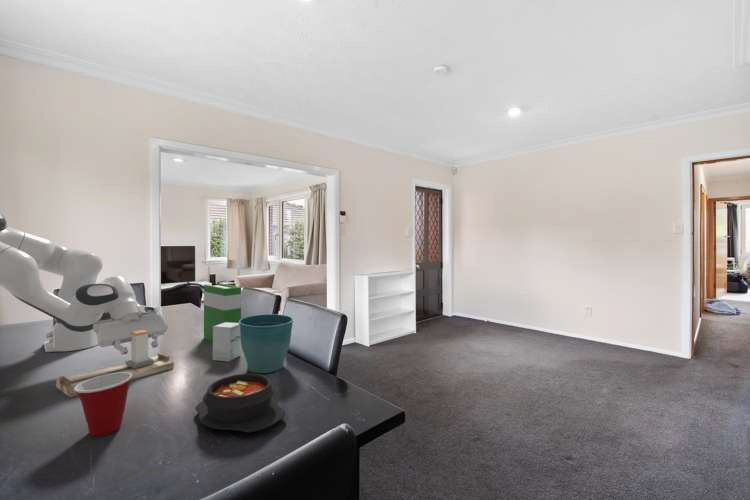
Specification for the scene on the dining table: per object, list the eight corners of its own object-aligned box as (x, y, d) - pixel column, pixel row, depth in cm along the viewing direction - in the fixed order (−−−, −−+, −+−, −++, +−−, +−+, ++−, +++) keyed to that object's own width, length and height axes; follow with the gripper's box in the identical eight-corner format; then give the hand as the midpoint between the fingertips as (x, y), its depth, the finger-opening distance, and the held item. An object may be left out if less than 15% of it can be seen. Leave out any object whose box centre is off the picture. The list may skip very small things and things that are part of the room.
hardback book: (203, 338, 157) (203, 284, 157) (219, 334, 163) (219, 283, 162) (224, 346, 146) (224, 288, 146) (240, 342, 152) (241, 287, 152)
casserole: (302, 415, 91) (302, 383, 90) (240, 452, 75) (240, 413, 75) (239, 391, 104) (239, 363, 104) (175, 418, 88) (175, 385, 88)
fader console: (56, 386, 105) (55, 374, 105) (156, 360, 128) (156, 351, 128) (70, 397, 98) (69, 384, 98) (173, 368, 121) (173, 357, 121)
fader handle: (125, 364, 117) (125, 331, 117) (145, 359, 122) (145, 328, 122) (133, 368, 114) (133, 334, 113) (153, 363, 119) (153, 331, 118)
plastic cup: (96, 418, 87) (96, 370, 87) (142, 417, 88) (142, 370, 88) (61, 444, 76) (60, 389, 76) (114, 442, 77) (113, 388, 77)
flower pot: (302, 362, 129) (303, 316, 128) (272, 381, 112) (273, 328, 111) (260, 356, 135) (261, 312, 134) (226, 373, 118) (227, 322, 117)
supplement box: (230, 361, 128) (230, 327, 128) (211, 360, 130) (212, 326, 129) (241, 355, 135) (241, 322, 135) (224, 353, 137) (224, 321, 137)
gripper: (93, 316, 113) (106, 352, 107) (161, 306, 130) (175, 337, 124) (88, 327, 115) (100, 363, 110) (155, 317, 132) (168, 347, 127)
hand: (140, 349), depth 117 cm, fingers open, 8 cm apart
